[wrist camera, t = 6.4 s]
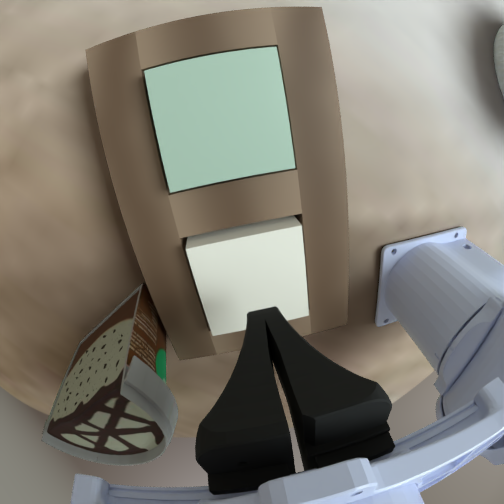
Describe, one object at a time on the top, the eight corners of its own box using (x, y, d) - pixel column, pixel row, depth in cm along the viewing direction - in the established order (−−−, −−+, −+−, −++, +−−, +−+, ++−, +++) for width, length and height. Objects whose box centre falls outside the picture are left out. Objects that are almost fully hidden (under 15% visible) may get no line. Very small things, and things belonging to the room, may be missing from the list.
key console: (304, 21, 13) (321, 7, 11) (332, 300, 22) (347, 324, 20) (104, 58, 13) (85, 49, 10) (181, 332, 22) (179, 360, 19)
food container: (124, 385, 24) (109, 477, 15) (72, 349, 22) (38, 441, 13) (217, 322, 22) (226, 439, 13) (156, 270, 19) (127, 389, 10)
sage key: (266, 56, 13) (276, 46, 11) (283, 160, 16) (295, 167, 14) (154, 77, 13) (144, 70, 11) (176, 181, 16) (170, 192, 13)
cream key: (289, 209, 17) (301, 225, 15) (298, 293, 20) (308, 315, 18) (188, 230, 17) (185, 249, 15) (211, 311, 20) (212, 336, 17)
